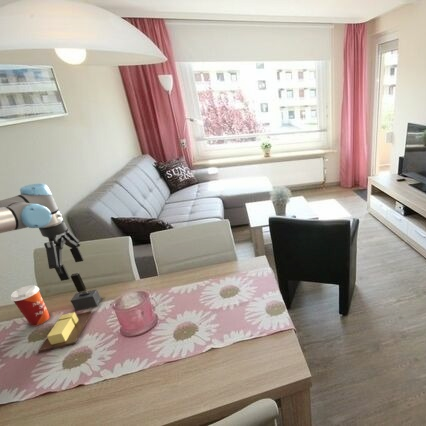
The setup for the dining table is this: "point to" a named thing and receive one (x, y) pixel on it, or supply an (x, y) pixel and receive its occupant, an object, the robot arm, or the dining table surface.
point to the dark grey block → (86, 300)
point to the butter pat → (68, 316)
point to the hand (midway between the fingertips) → (73, 270)
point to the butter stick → (61, 331)
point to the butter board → (73, 335)
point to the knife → (79, 284)
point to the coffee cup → (31, 304)
